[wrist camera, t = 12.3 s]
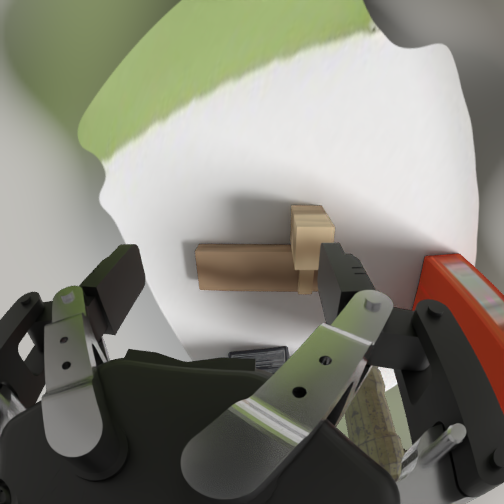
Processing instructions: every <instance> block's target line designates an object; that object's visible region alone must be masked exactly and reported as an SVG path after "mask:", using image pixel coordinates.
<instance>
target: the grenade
mask: <svg viewBox="0 0 504 504" xmlns="http://www.w3.org/2000/svg"><path fill="white" fill-rule="evenodd" d="M384 393H385V384H384V381H383V378H382V375H381V372H380V370H379V369H378V366H372V368H371V369H370V371H369V373H368V375H367V376H366V378H365V380H364V382H363V383H362V385H361V387H360V388H359V390H358V392H357V393H356V395H355V396H354V398H353V400H352V401H351V403H350V405H349V406H348V408H347V410H346V412H345V419H346V424H347V430H348V436H349V439H350V440H351V441H352V442H353V443H354V444H356V445H357V446H358V447H359V448H360V449H361V450H363V451H364V452H365V453H366V454H367V455H368V456H370V457H371V458H372V459H373V460H374V461H376V462H377V463H378V464H379V465H380V466H382V467H383V468H384V469H385V470H386V471H388V472H389V474H390V475H391V476H392V477H393V479H394V480H395V482H397V480H398V479H399V477H400V474H401V462H402V458H403V456H404V454H405V452H406V451H407V450H405V449H403V447H402V443H401V439H400V437H399V436H398V435H397V434H396V431H395V428H394V425H393V421H392V417H391V414H390V410H389V407H388V404H387V400H386V397H385V394H384Z"/></svg>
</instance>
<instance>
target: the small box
mask: <svg viewBox="0 0 504 504" xmlns="http://www.w3.org/2000/svg"><path fill="white" fill-rule="evenodd" d="M228 357H229V358H251V359H256V369H260V370H264V371H267V372H270V373H272V374H275V372H276V371H277V370H278V369H279V368H280V367H281V366H282V365H283V364H284V363H285V362H286V361H287V360H288V359H289V353H288V347H278V348H270V349H261V350H251V351H240V352H230V353H229V354H228Z"/></svg>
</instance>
